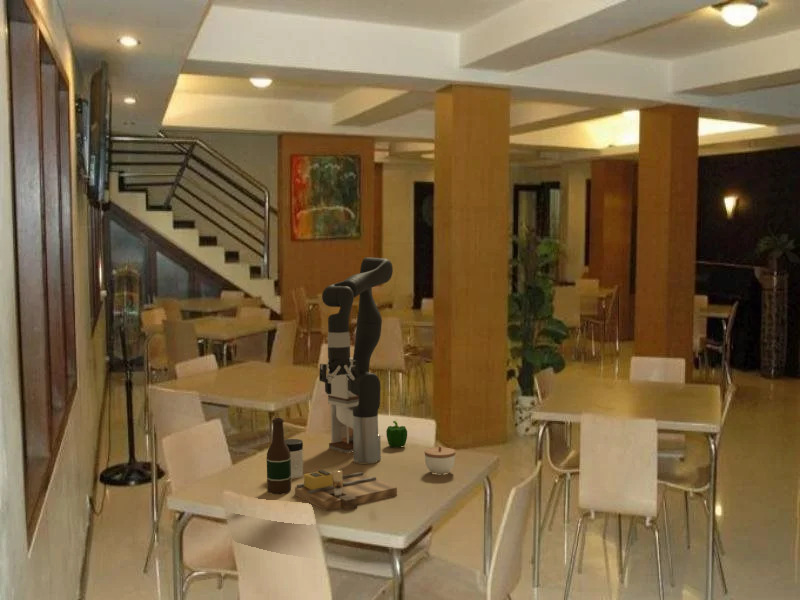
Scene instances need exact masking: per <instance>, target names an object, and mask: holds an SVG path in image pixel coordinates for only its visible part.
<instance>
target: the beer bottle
mask: <svg viewBox="0 0 800 600" xmlns="http://www.w3.org/2000/svg"><path fill="white" fill-rule="evenodd" d="M271 422H272V437H271V438H272V440H271V444H270V446H268V450H267V452H266V487H267V492H268V493H270V494H272V495H284V494H285V495H286V494H289V492H291V490H292V479H291V456H290V450H289V448H288V446H287V445H286V443H285V440H286V439H285V433H284V418H281V417H275V418H273V419H272V421H271Z"/></svg>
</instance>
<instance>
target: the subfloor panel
mask: <svg viewBox="0 0 800 600" xmlns="http://www.w3.org/2000/svg"><path fill="white" fill-rule="evenodd" d="M342 478H343V487H342V496H340V497H334V488H333V485H332V486H328V487H323V488H318V489H313V490H311V489H309V488H306V487H304V483H299V484H296V487H294V495H295V496H296V497H298V498H300V499H302V500H304V501H306V502H308V503H310V504H312V505H314V506H316V507H318V508H320V509H322V510H324V511H326V512H329V511H332V510H338V509H343V510H345V511H348V510H354V509H358V505H359V504H364V503H368V502H373V501H377V500H381V499H387V498H390V497H391V498H392V497H394V496H398V487H397V486H394V485H391V484H389V483H386V482H384V481H382V480H379V479H377V477H376V476H370V475H366V474H365V473H364V472H363V471H360V472H354V473H351V474H345V475H342Z"/></svg>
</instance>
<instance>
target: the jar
mask: <svg viewBox="0 0 800 600" xmlns="http://www.w3.org/2000/svg"><path fill="white" fill-rule="evenodd" d="M284 440H285V443H286V445H287V446H288V448H289V450H290V456H291V480H294V479H297V478H302V477H304V450H303V449H304V448H303V447H304V444H303V440H302V439H299V438H288V439H287V438H285V439H284Z"/></svg>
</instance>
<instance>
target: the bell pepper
mask: <svg viewBox="0 0 800 600" xmlns="http://www.w3.org/2000/svg"><path fill="white" fill-rule="evenodd" d="M392 422H393V424H394V425H393V426H392V425H389V426H388V427H387V428H386V433H385V435H386V440H387V443H388V446H389V447H390V446H391V447H390V448H392V447H398V448H401V447H400V446H404V447H405V445H406V444H407V443H406V442H407V439H408V430H407V427H406V426H405V425H401V426H398V422H397V421H396V420H393V421H392Z"/></svg>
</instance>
